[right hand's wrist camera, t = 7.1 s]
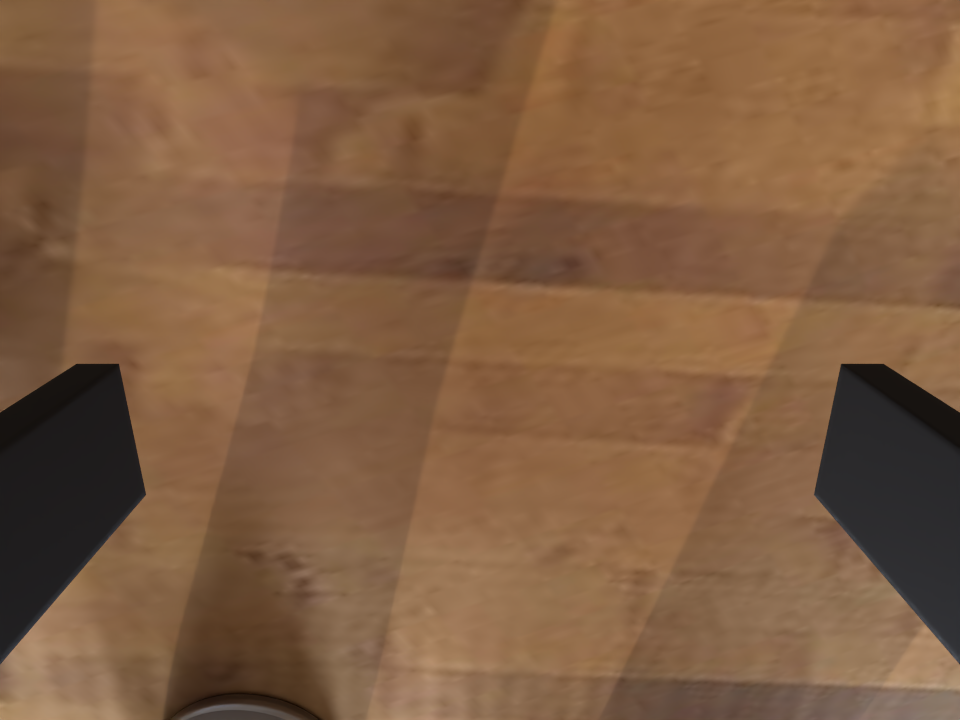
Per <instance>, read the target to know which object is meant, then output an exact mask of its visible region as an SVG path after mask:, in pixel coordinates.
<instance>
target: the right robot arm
mask: <svg viewBox="0 0 960 720" xmlns="http://www.w3.org/2000/svg"><path fill="white" fill-rule="evenodd" d="M145 495H146V493H145V488H144V483H143V478H142V473H141V468H140V464H139V459H138V454H137V449H136V444H135V440H134V435H133V430H132V425H131V420H130V416H129V411H128V406H127V401H126V396H125V392H124V387H123V382H122V377H121V372H120V368H119V364H76V365H74V366H73V367H71V368H69V369H68V370H66V371H65V372H63V373H62V374H60V375H58V376H57V377H55V378H54V379H52V380H51V381H49V382H48V383H46V384H44V385H43V386H41V387H40V388H38V389H37V390H35V391H33V392H32V393H30V394H29V395H27V396H26V397H24V398H22V399H21V400H19V401H18V402H16V403H15V404H13V405H11V406H10V407H8V408H7V409H5V410H4V411H2V412H1V413H0V664H1V663H2V662H3V660H4V659H5V658H6V657H7V656H8V655H9V653H10V652H11V651H12V650H13V649H14V648H15V646H16V645H17V644H18V643H19V642H20V641H21V639H22V638H23V637H24V636H25V635H26V634H27V632H28V631H29V630H30V629H31V628H32V627H33V625H34V624H35V623H36V622H37V621H38V620H39V619H40V617H41V616H42V615H43V614H44V613H45V612H46V610H47V609H48V608H49V607H50V606H51V605H52V603H53V602H54V601H55V600H56V599H57V598H58V596H59V595H60V594H61V593H62V592H63V591H64V589H65V588H66V587H67V586H68V585H69V584H70V582H71V581H72V580H73V579H74V578H75V577H76V576H77V574H78V573H79V572H80V571H81V570H82V569H83V567H84V566H85V565H86V564H87V563H88V562H89V560H90V559H91V558H92V557H93V556H94V555H95V553H96V552H97V551H98V550H99V549H100V548H101V546H102V545H103V544H104V543H105V542H106V541H107V539H108V538H109V537H110V536H111V535H112V534H113V532H114V531H115V530H116V529H117V528H118V527H119V526H120V524H121V523H122V522H123V521H124V520H125V519H126V517H127V516H128V515H129V514H130V513H131V512H132V510H133V509H134V508H135V507H136V506H137V505H138V503H139V502H140V501H141V500H142V499H143V498H144V496H145ZM814 495H815V496H816V498H817V499H818V500H819V501H820V502H821V503H822V505H823V506H824V507H825V508H826V509H827V510H828V512H829V513H830V514H831V515H832V516H833V517H834V519H835V520H836V521H837V522H838V523H839V524H840V526H841V527H842V528H843V529H844V530H845V531H846V532H847V534H848V535H849V536H850V537H851V538H852V539H853V541H854V542H855V543H856V544H857V545H858V546H859V548H860V549H861V550H862V551H863V552H864V553H865V555H866V556H867V557H868V558H869V559H870V560H871V562H872V563H873V564H874V565H875V566H876V567H877V569H878V570H879V571H880V572H881V573H882V574H883V576H884V577H885V578H886V579H887V580H888V581H889V582H890V584H891V585H892V586H893V587H894V588H895V589H896V591H897V592H898V593H899V594H900V595H901V596H902V598H903V599H904V600H905V601H906V602H907V603H908V605H909V606H910V607H911V608H912V609H913V610H914V612H915V613H916V614H917V615H918V616H919V617H920V619H921V620H922V621H923V622H924V623H925V624H926V625H927V627H928V628H929V629H930V630H931V631H932V632H933V634H934V635H935V636H936V637H937V638H938V639H939V641H940V642H941V643H942V644H943V645H944V646H945V648H946V649H947V650H948V651H949V652H950V653H951V655H952V656H953V657H954V658H955V659H956V660H957V662H958V663H959V664H960V413H959V412H958V411H956V410H955V409H953V408H952V407H950V406H949V405H947V404H945V403H944V402H942V401H941V400H939V399H938V398H936V397H934V396H933V395H931V394H930V393H928V392H927V391H925V390H923V389H922V388H920V387H919V386H917V385H916V384H914V383H912V382H911V381H909V380H908V379H906V378H905V377H903V376H902V375H900V374H898V373H897V372H895V371H894V370H892V369H891V368H889V367H887V366H886V365H884V364H841V368H840V372H839V377H838V382H837V387H836V392H835V396H834V401H833V406H832V411H831V416H830V420H829V425H828V430H827V435H826V440H825V444H824V449H823V454H822V459H821V464H820V468H819V473H818V478H817V483H816V488H815V493H814ZM170 720H319V719H317V718H316V717H314V716H313V715H312V714H310V713H308V712H307V711H305V710H303V709H301V708H299V707H297V706H295V705H293V704H290V703H287V702H285V701H281V700H278V699H275V698H270V697H266V696H260V695H251V694H230V695H221V696H215V697H211V698H207V699H204V700H201V701H198V702H196V703H193V704H191V705H189V706H188V707H186V708H184V709H183V710H181V711H180V712H178V713H177V714H176V715H175V716H173V717H172V718H171V719H170Z"/></svg>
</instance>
